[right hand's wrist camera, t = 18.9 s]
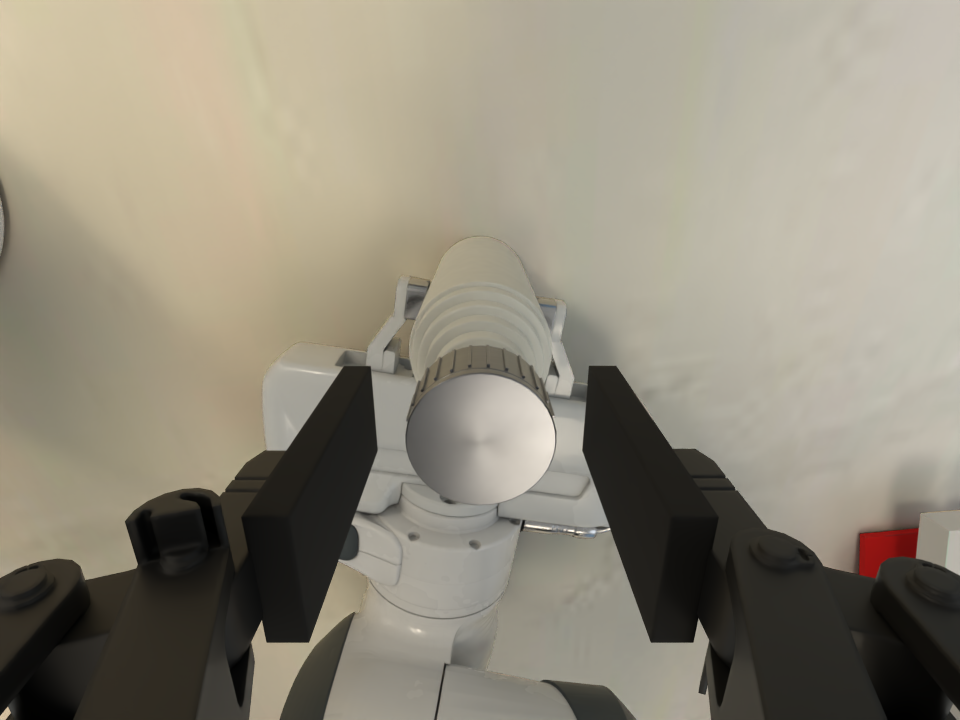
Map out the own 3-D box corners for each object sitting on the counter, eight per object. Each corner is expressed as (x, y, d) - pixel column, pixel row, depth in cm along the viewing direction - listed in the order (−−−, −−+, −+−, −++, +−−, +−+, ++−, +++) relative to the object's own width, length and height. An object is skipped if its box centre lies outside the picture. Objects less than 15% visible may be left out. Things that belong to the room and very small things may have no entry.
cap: (445, 482, 16) (441, 526, 14) (390, 372, 14) (376, 403, 12) (566, 440, 15) (578, 479, 13) (520, 321, 14) (526, 346, 12)
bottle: (543, 278, 31) (625, 425, 13) (482, 340, 32) (486, 545, 15) (477, 216, 29) (474, 288, 12) (417, 284, 31) (337, 435, 14)
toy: (1207, 565, 26) (1107, 972, 33) (969, 458, 39) (932, 765, 46) (965, 583, 27) (915, 980, 33) (809, 471, 40) (796, 773, 47)
